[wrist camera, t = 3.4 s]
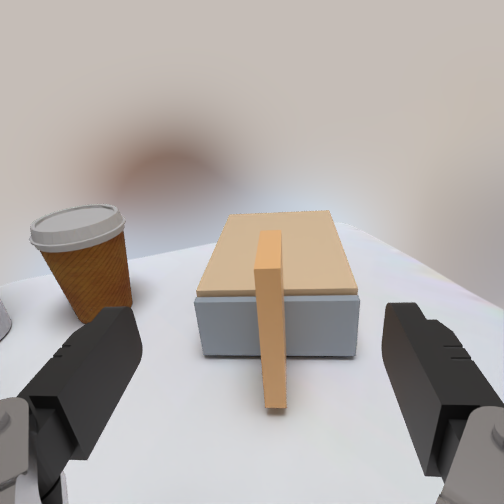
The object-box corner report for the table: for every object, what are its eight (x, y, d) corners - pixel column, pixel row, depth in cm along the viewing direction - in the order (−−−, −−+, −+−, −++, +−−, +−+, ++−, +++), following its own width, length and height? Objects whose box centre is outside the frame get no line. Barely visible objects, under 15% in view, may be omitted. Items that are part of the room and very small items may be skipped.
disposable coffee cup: (152, 316, 38) (127, 219, 33) (61, 345, 35) (17, 242, 30) (139, 280, 46) (118, 197, 41) (64, 301, 43) (30, 213, 37)
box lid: (234, 257, 50) (229, 214, 47) (327, 255, 49) (329, 210, 46) (206, 350, 32) (196, 290, 29) (352, 351, 31) (357, 288, 28)
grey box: (232, 258, 49) (223, 174, 44) (328, 256, 47) (331, 168, 42) (186, 410, 26) (154, 271, 20) (371, 414, 24) (389, 265, 19)
